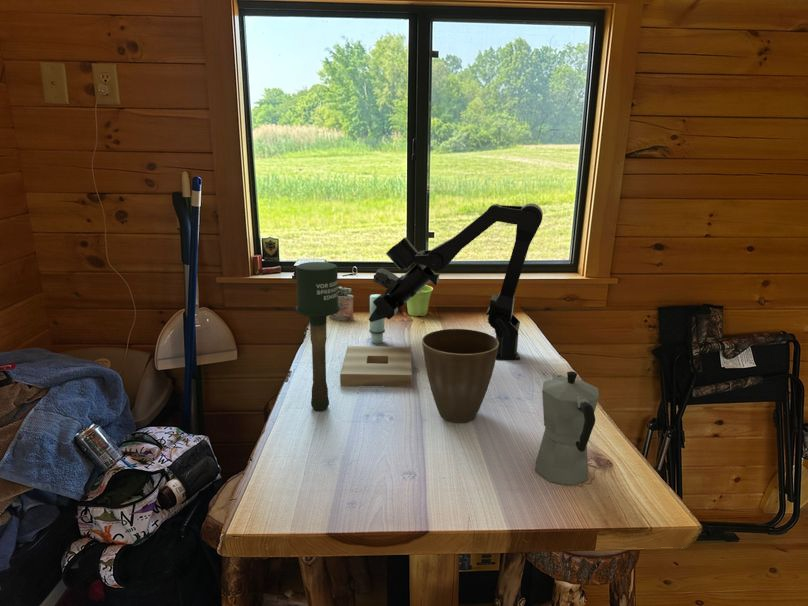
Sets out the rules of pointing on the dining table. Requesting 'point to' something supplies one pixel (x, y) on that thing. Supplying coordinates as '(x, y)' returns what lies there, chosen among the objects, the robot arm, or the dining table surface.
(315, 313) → the potato masher grenade
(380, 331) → the peg
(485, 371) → the plant pot
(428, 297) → the plant pot
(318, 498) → the dining table surface
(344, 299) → the lighter
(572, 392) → the coffeepot
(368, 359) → the board
